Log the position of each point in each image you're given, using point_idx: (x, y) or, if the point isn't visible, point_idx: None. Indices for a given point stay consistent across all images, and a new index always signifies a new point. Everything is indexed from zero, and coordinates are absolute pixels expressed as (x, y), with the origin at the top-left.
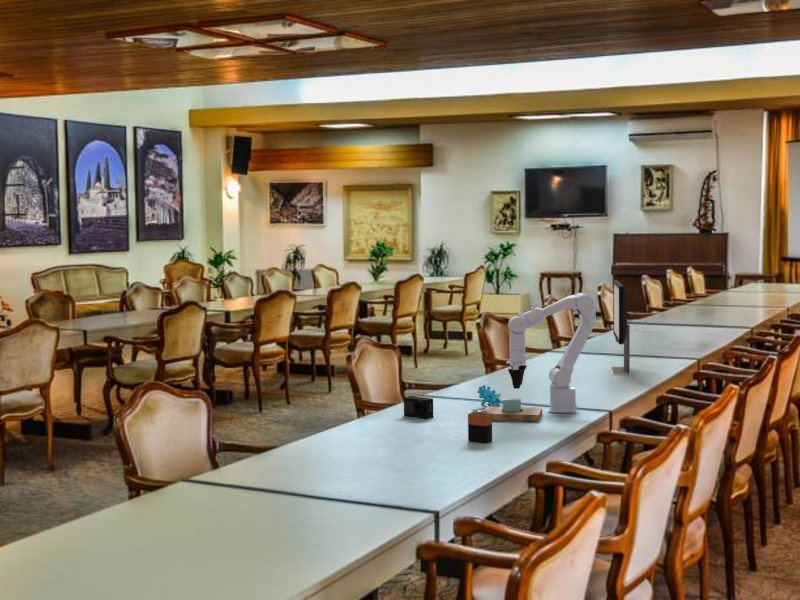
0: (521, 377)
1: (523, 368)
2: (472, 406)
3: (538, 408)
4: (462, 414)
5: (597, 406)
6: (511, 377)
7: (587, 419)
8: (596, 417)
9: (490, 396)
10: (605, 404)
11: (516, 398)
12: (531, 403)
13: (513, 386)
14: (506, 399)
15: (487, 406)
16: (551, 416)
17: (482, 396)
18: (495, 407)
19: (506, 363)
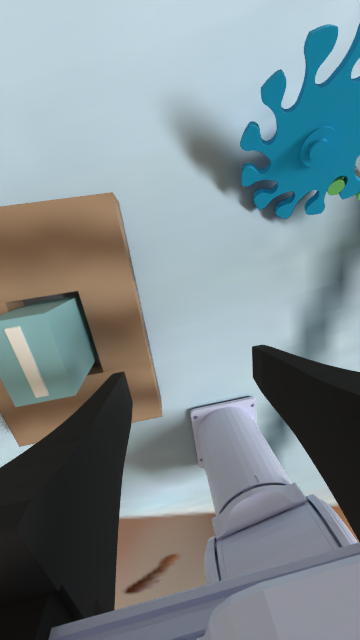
0: (120, 493)
1: (356, 517)
2: (263, 72)
3: (139, 412)
4: (36, 65)
5: (298, 477)
6: (48, 436)
7: (129, 505)
8: (161, 511)
9: (305, 155)
10: (323, 482)
11: (68, 377)
12: (337, 320)
13: (105, 381)
14: (10, 338)
15: (108, 197)
16: (138, 429)
17: (269, 104)
18: (97, 248)
19: (224, 607)
